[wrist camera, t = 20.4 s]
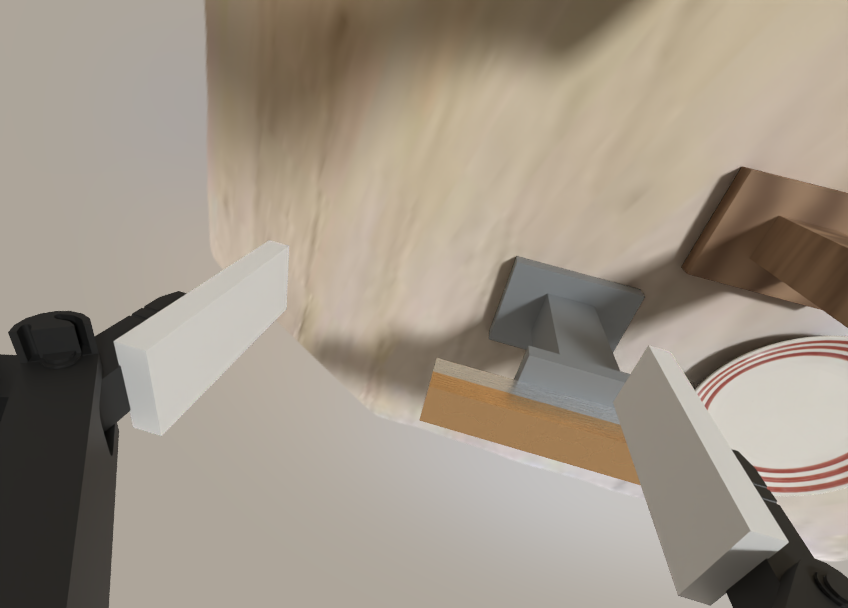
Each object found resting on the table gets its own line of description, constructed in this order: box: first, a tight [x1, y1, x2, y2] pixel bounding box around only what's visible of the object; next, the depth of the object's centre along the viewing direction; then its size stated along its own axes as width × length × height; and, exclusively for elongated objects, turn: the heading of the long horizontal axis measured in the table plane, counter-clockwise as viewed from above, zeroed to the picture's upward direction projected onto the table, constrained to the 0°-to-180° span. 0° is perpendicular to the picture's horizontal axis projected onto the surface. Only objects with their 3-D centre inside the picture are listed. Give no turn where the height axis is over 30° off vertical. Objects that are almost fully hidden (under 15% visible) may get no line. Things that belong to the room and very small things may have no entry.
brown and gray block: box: [420, 358, 641, 485], centre depth 35 cm, size 22×4×4 cm, turn 78°
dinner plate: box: [695, 336, 848, 496], centre depth 53 cm, size 28×27×3 cm
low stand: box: [489, 256, 645, 408], centre depth 45 cm, size 16×12×20 cm
